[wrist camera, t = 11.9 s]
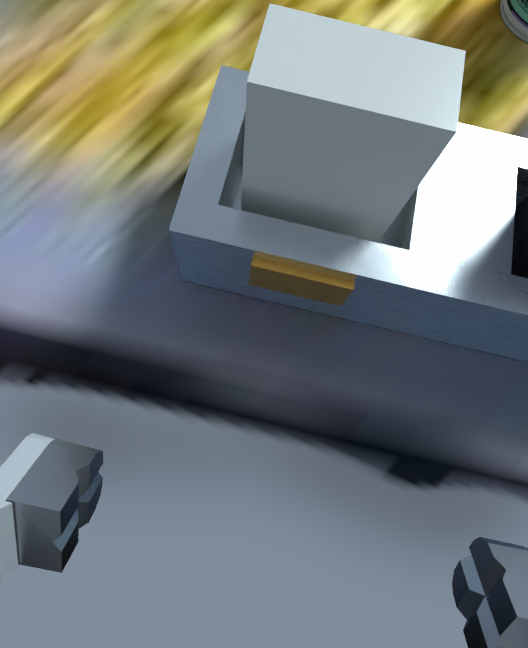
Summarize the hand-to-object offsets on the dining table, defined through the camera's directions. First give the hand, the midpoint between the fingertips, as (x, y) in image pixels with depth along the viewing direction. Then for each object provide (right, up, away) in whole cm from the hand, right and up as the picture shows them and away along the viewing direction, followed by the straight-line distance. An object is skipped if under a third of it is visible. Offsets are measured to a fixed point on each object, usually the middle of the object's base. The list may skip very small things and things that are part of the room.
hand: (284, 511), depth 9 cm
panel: (+2, +9, +12) cm, 15 cm away
